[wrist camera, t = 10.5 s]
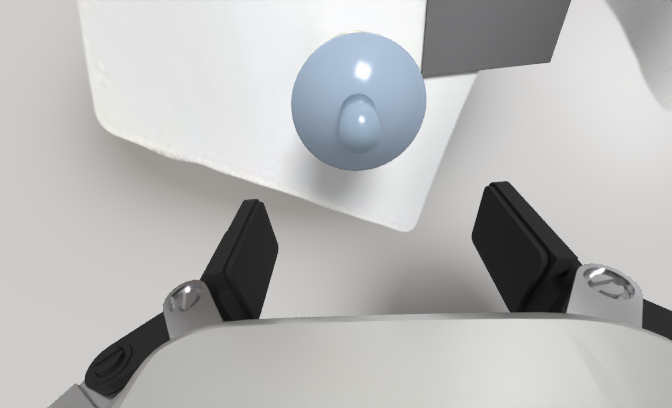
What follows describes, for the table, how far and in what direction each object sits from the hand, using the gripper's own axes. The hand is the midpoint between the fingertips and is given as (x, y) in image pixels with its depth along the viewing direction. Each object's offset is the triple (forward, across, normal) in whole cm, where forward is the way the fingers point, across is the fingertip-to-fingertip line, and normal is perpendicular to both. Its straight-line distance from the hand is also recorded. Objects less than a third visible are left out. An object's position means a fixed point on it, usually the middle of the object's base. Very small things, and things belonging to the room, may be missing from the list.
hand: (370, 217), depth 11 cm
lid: (+16, 0, 0) cm, 16 cm away
